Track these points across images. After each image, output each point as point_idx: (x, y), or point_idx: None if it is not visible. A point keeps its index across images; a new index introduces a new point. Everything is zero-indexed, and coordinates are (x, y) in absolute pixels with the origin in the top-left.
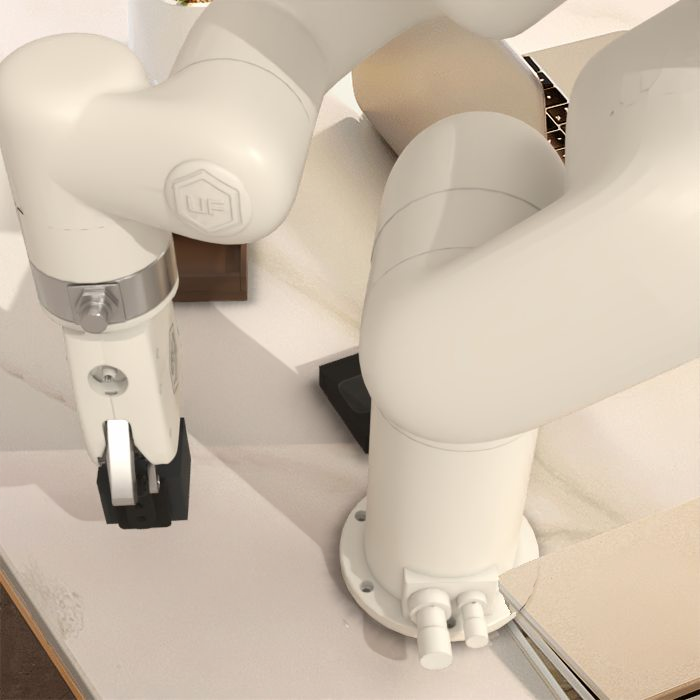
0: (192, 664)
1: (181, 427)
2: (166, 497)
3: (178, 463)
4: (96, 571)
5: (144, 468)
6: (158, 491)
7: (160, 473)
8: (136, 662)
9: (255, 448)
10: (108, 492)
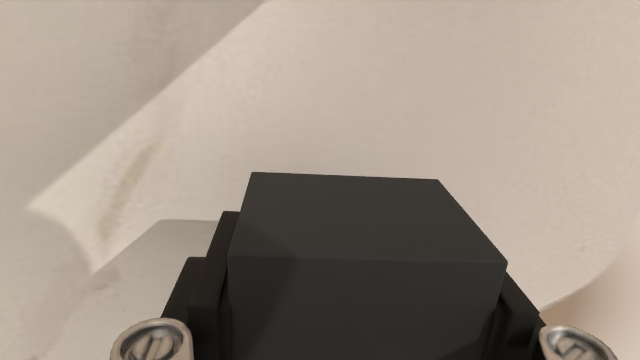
0: (615, 144)
1: (278, 261)
2: (506, 273)
3: (447, 269)
4: None
5: (440, 355)
6: (590, 337)
7: (472, 315)
8: (584, 226)
9: (128, 3)
10: None
